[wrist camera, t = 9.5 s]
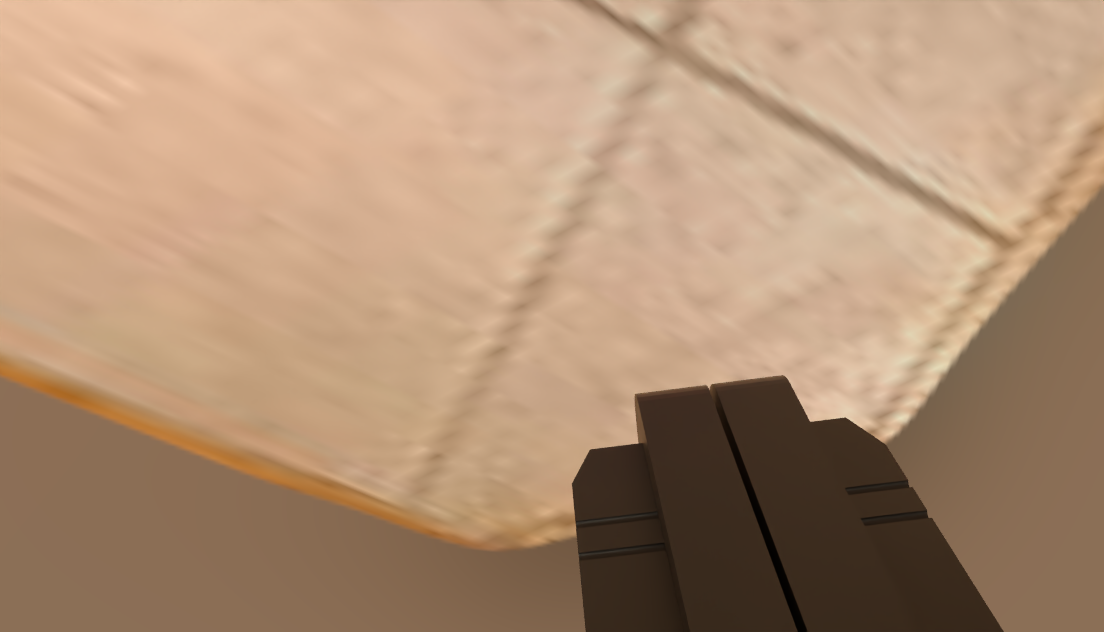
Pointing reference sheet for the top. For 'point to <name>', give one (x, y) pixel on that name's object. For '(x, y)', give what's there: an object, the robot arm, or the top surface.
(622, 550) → the robot arm
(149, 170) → the top surface
